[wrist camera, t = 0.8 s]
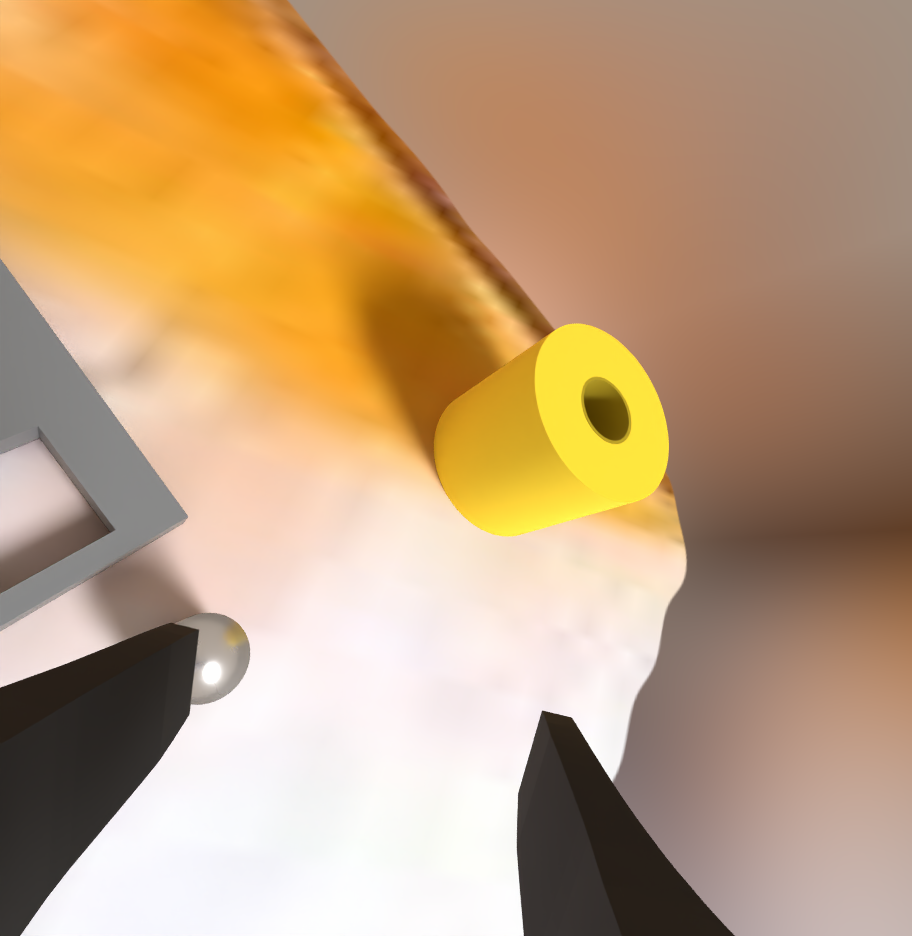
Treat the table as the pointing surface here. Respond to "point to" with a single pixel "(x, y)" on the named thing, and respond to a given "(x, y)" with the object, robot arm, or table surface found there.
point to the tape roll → (553, 435)
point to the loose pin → (217, 656)
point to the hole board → (72, 451)
